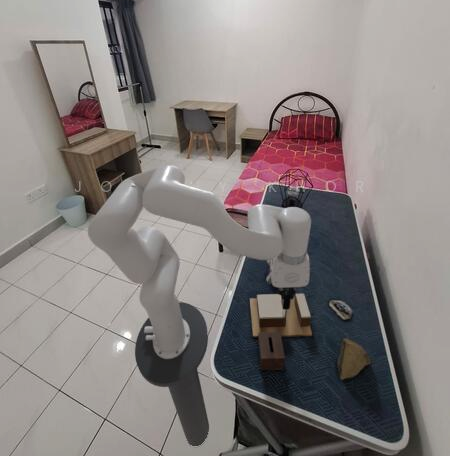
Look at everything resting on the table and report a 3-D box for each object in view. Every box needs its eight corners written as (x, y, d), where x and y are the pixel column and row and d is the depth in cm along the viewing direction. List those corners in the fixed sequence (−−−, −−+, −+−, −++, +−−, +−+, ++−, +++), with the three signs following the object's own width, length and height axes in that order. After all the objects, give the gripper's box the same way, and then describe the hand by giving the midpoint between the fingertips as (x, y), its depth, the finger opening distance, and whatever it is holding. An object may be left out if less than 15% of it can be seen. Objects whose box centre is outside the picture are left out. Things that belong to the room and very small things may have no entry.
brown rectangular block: (300, 326, 83) (301, 316, 80) (294, 303, 90) (295, 293, 87) (308, 326, 83) (310, 316, 80) (302, 303, 90) (303, 293, 87)
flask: (285, 287, 97) (287, 269, 92) (280, 291, 95) (282, 273, 91) (268, 272, 104) (269, 254, 99) (263, 276, 102) (264, 258, 97)
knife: (281, 323, 75) (284, 296, 69) (279, 313, 78) (282, 286, 71) (287, 323, 75) (291, 295, 69) (285, 313, 78) (289, 286, 71)
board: (253, 337, 81) (253, 335, 81) (249, 299, 93) (249, 298, 93) (311, 336, 81) (312, 334, 80) (301, 298, 93) (301, 296, 92)
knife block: (260, 370, 73) (261, 358, 70) (258, 344, 80) (258, 332, 77) (283, 369, 73) (285, 358, 70) (279, 343, 79) (280, 331, 76)
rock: (368, 341, 77) (335, 332, 78) (381, 350, 69) (345, 339, 71) (368, 384, 72) (333, 373, 74) (382, 398, 64) (344, 385, 66)
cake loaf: (259, 327, 83) (259, 317, 81) (256, 304, 90) (256, 294, 88) (285, 326, 83) (286, 316, 80) (280, 303, 90) (281, 293, 87)
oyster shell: (348, 324, 84) (349, 321, 83) (325, 309, 88) (326, 306, 88) (354, 309, 88) (355, 306, 87) (332, 295, 93) (333, 292, 92)
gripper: (263, 263, 60) (261, 308, 68) (327, 261, 59) (317, 306, 68) (259, 240, 66) (257, 284, 75) (316, 238, 66) (308, 282, 74)
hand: (286, 294), depth 71 cm, fingers closed on knife, 2 cm apart
